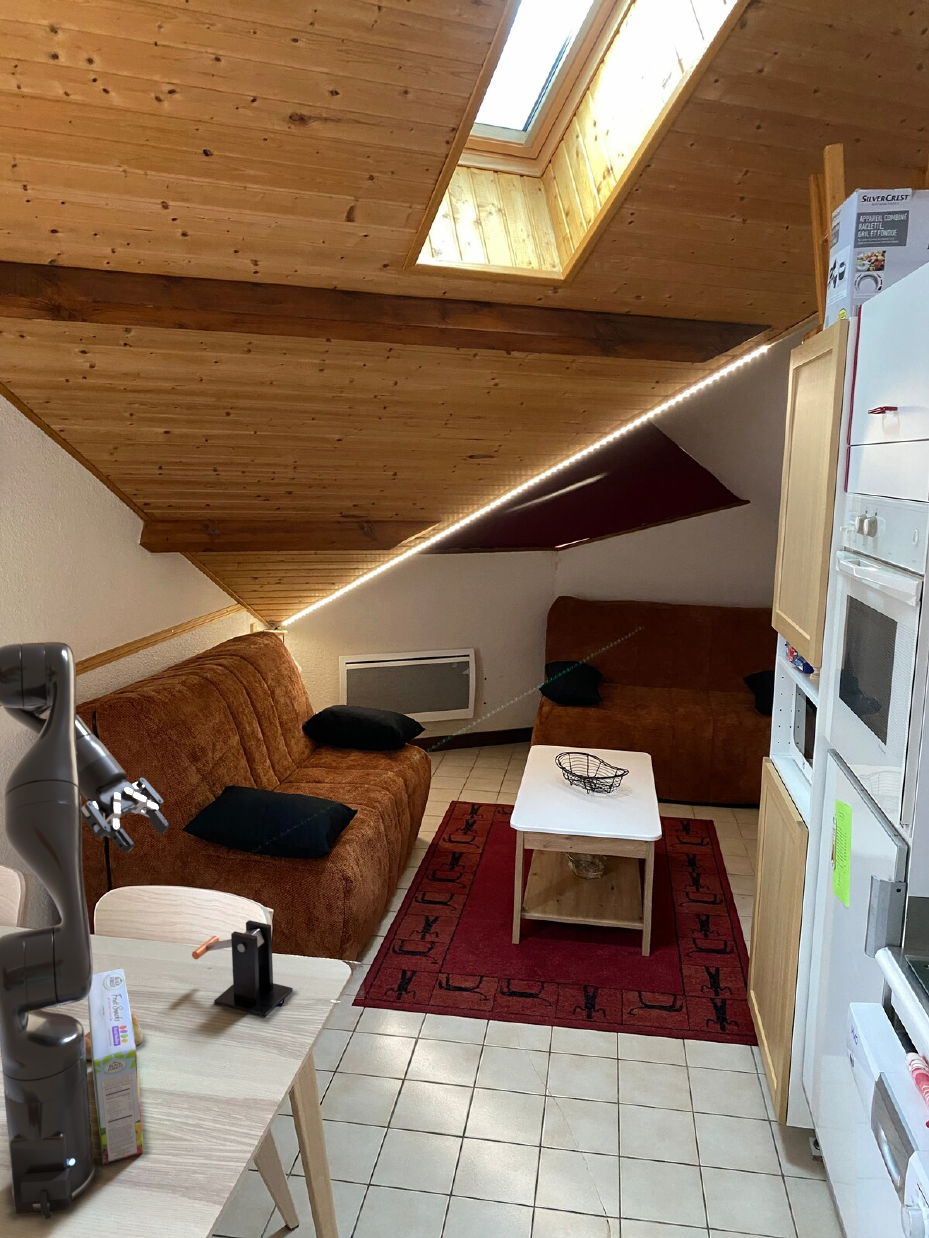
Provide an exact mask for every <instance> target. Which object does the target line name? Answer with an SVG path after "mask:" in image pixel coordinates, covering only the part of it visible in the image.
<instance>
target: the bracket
mask: <svg viewBox="0 0 929 1238" xmlns="http://www.w3.org/2000/svg"><path fill="white" fill-rule="evenodd" d="M254 929H260V931H261V934H262V937H263V939H264V943H262V944H261V945H260V946H259V947H258V943H257V936H254V935H249V934H245V932H246V931H249V930H254ZM245 932H240V931H233V932H231V933H230V936H231V937H230V939H231V942H232V947H231V961H232V962H231V964H232V984H231V985H230V986H229V987H228V988H227V989H226V990H225V991H223V992H221V994H219V996H217V998H215V999H214V1001H213V1003H214V1005H218V1006H222V1007H224V1008H229V1009H233V1010H237V1011H241V1012H244V1013H248V1014H252V1015H256V1016H259V1017H263V1018H266V1017H268V1016H269V1015H270V1014H271V1013H272V1012H273V1010H276V1008H277V1007H278V1006H279V1005H280V1004H281V1003H282V1002H284V1001H285V999H286V998H287V997H288V996H289V995H290V994H291V993H292V992H294V990H293V987H290V986H287V985H283V984H279V983H275V982H274V970H273V965H274V964H273V943H272V942H273V941H272V938H273V937H272V935H273V934H272V925H271V924H268V923H264V922H260V921H255V920H250V919H248V920H247V921H246V922H245Z"/></svg>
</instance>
